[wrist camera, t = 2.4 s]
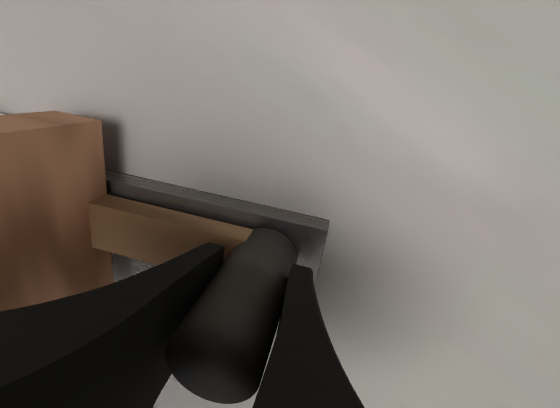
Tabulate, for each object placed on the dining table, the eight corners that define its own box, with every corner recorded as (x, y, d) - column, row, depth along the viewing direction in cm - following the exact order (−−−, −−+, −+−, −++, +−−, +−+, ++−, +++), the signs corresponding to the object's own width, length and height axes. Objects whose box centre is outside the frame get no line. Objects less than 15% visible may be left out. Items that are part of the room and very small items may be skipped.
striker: (280, 339, 13) (242, 479, 8) (77, 280, 15) (-53, 372, 10) (316, 163, 10) (288, 229, 5) (54, 110, 12) (-150, 126, 7)
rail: (315, 280, 13) (312, 294, 12) (95, 224, 15) (78, 233, 14) (329, 220, 12) (327, 231, 11) (90, 166, 14) (71, 171, 13)
